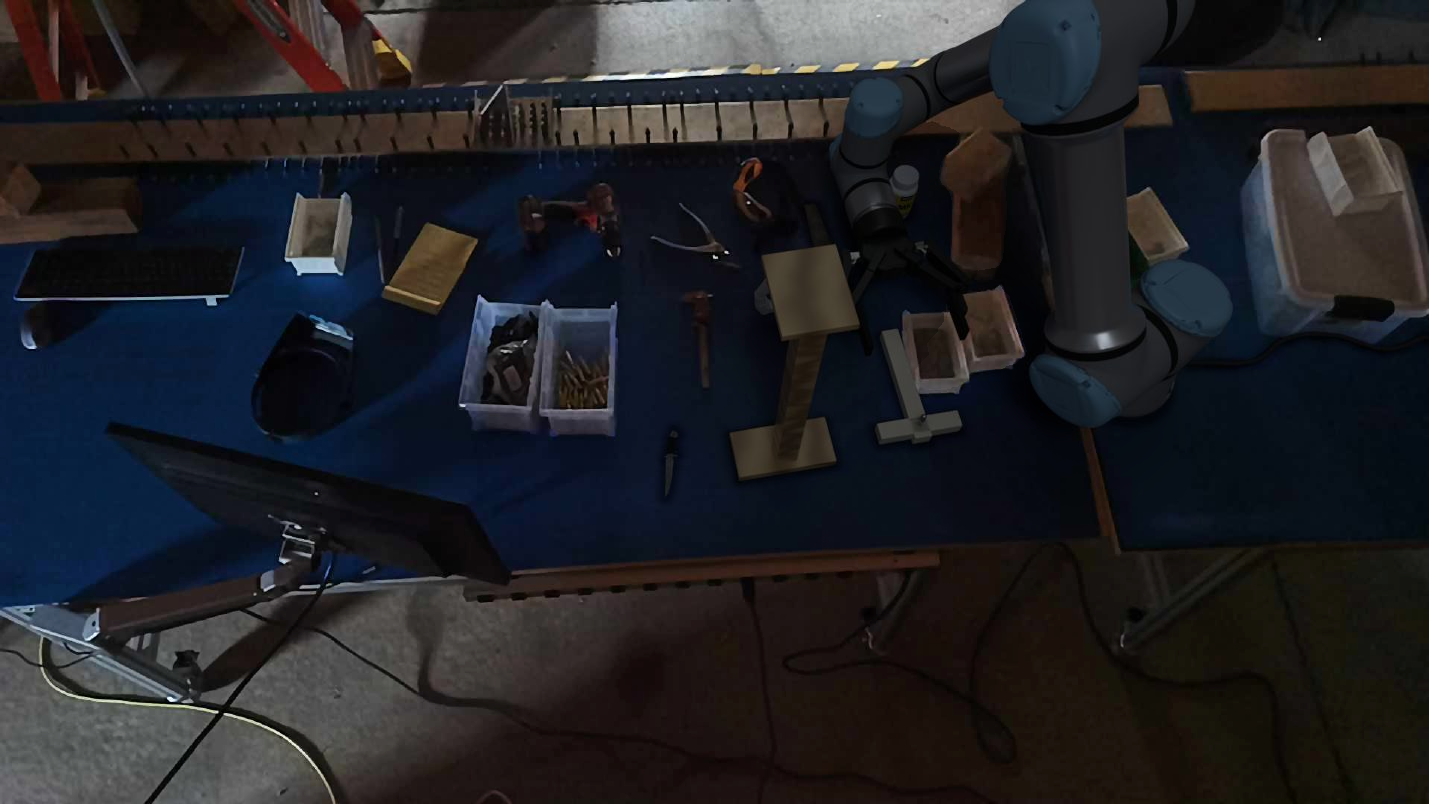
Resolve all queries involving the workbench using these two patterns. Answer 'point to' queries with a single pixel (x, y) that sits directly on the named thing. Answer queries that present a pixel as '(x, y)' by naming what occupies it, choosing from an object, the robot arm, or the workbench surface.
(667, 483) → the knife
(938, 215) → the workbench surface
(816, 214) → the hand saw
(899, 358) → the grey t-shaped block
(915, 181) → the supplement bottle
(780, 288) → the stand
